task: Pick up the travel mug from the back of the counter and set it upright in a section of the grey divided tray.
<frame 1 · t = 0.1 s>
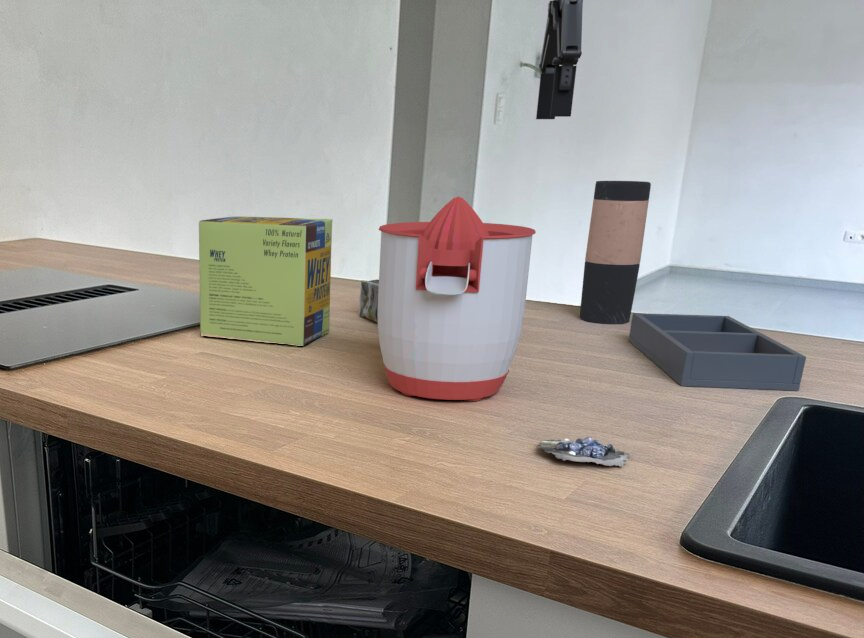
hand: (552, 118, 127), 29 cm above the worktop, tool pointing down, fingers open, 13 cm apart
citrus juicer: (442, 392, 92), on the worktop
blueberries: (584, 458, 73), on the worktop
travel mug: (604, 320, 130), on the worktop
protein box: (266, 336, 119), on the worktop
grey stone block: (411, 327, 125), on the worktop
grey divided tray: (704, 363, 104), on the worktop
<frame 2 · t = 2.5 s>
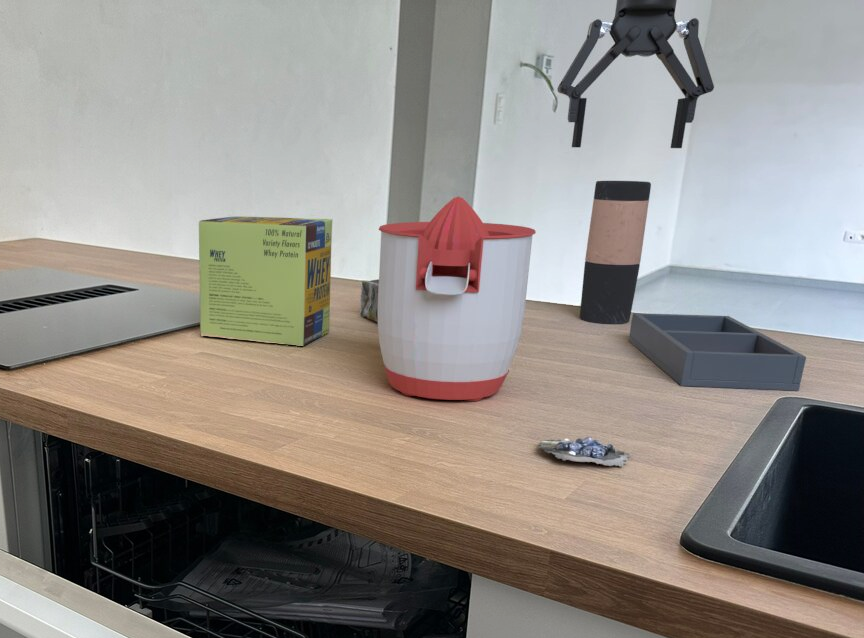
hand: (625, 148, 122), 25 cm above the worktop, tool pointing down, fingers open, 13 cm apart
nothing on the worktop moved.
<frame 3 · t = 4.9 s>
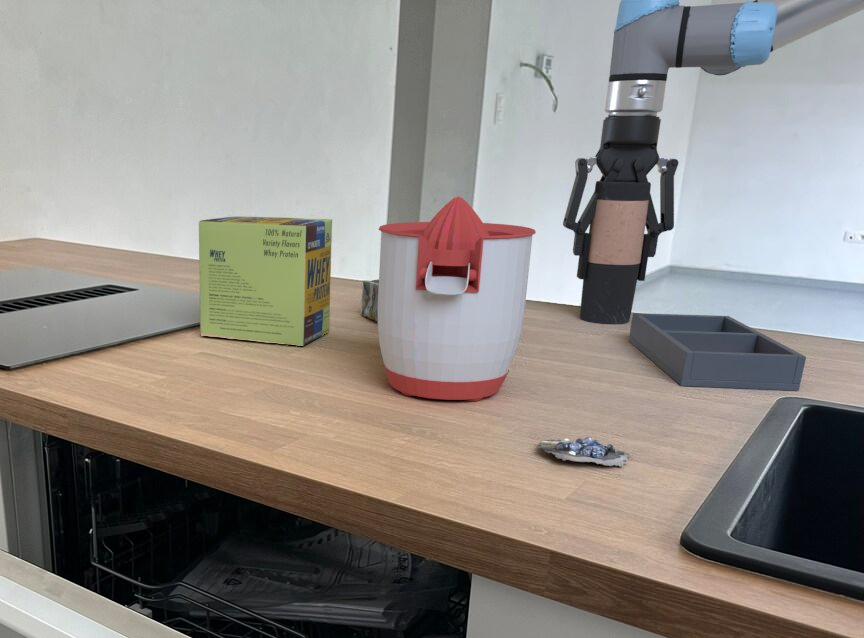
hand: (610, 278, 128), 6 cm above the worktop, tool pointing down, fingers closed on travel mug, 8 cm apart
travel mug: (604, 320, 130), on the worktop, touching gripper
everything else where it was.
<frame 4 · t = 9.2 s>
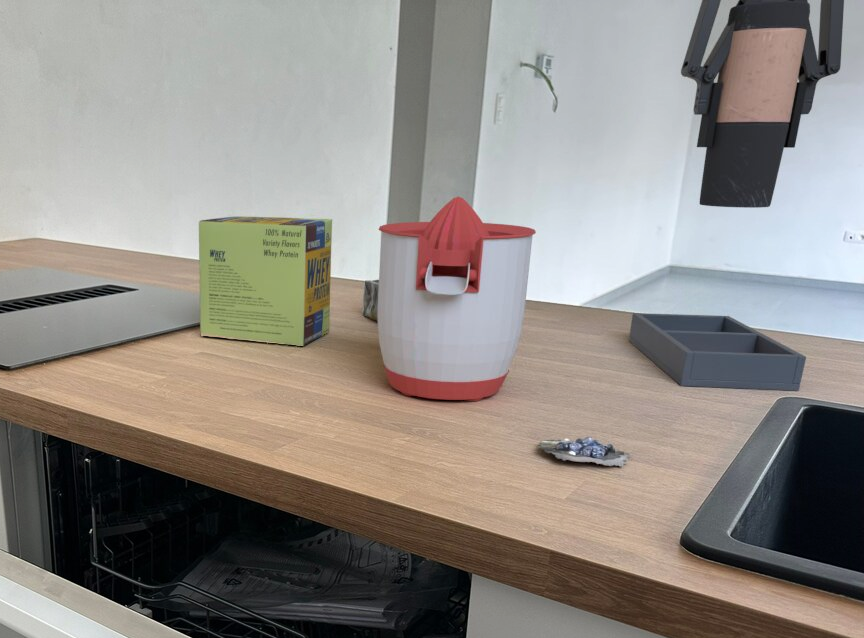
hand: (744, 147, 94), 25 cm above the worktop, tool pointing down, fingers closed on travel mug, 8 cm apart
travel mug: (733, 207, 96), point 18 cm above the worktop, touching gripper
everything else where it was.
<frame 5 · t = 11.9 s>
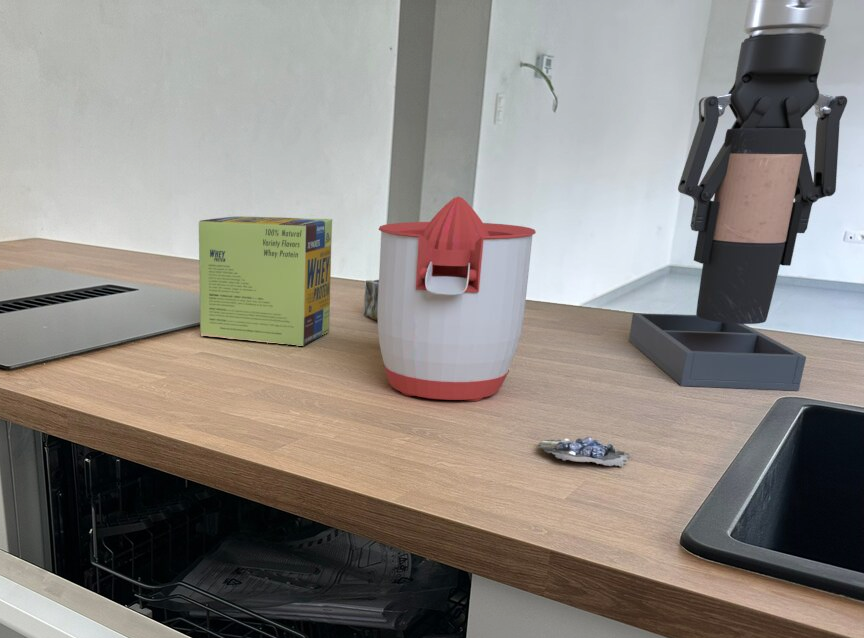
hand: (741, 262, 95), 13 cm above the worktop, tool pointing down, fingers closed on travel mug, 8 cm apart
travel mug: (730, 319, 97), point 6 cm above the worktop, touching gripper
everything else where it was.
when the fingers open (7 cm above the worktop, at t = 13.6 s): travel mug stays where it is, resting on grey divided tray.
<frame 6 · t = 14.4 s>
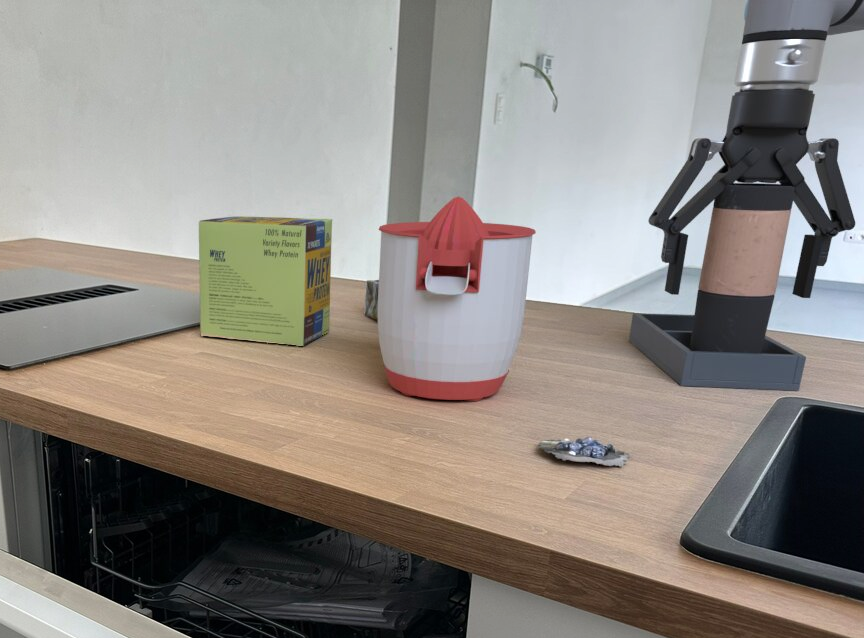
hand: (735, 294, 96), 9 cm above the worktop, tool pointing down, fingers open, 13 cm apart
travel mug: (721, 367, 99), point 1 cm above the worktop, touching grey divided tray
everything else where it was.
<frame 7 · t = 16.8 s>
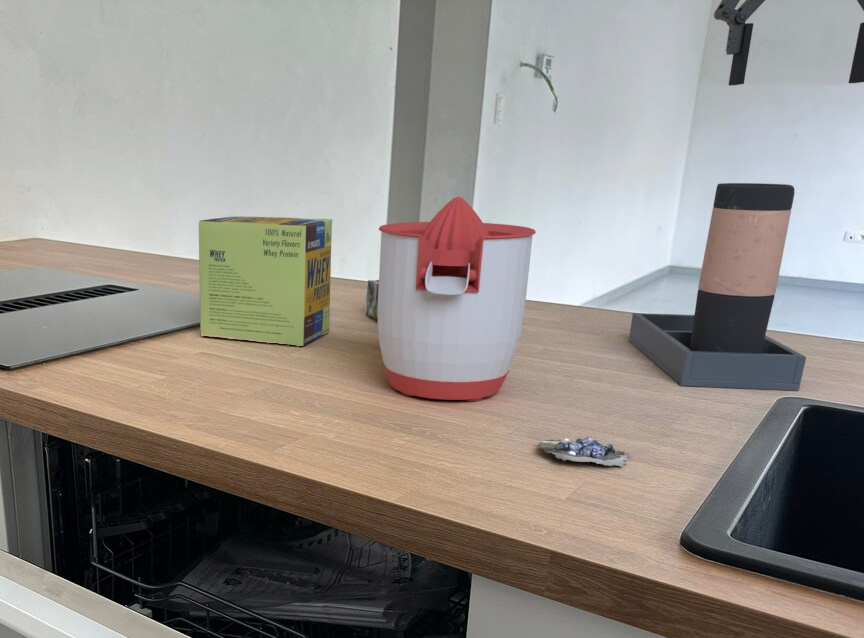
hand: (796, 84, 102), 32 cm above the worktop, tool pointing down, fingers open, 13 cm apart
nothing on the worktop moved.
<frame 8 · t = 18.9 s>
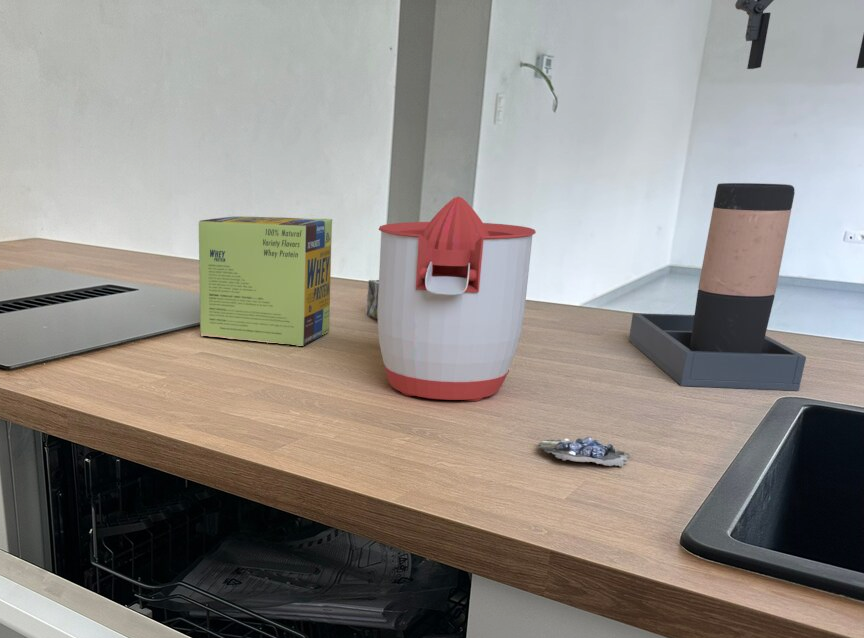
hand: (808, 68, 114), 35 cm above the worktop, tool pointing down, fingers open, 13 cm apart
nothing on the worktop moved.
at the end: travel mug 0.0 cm from the target spot in the grey divided tray, point 0.8 cm above the grey divided tray's base; travel mug tilted 0° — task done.
